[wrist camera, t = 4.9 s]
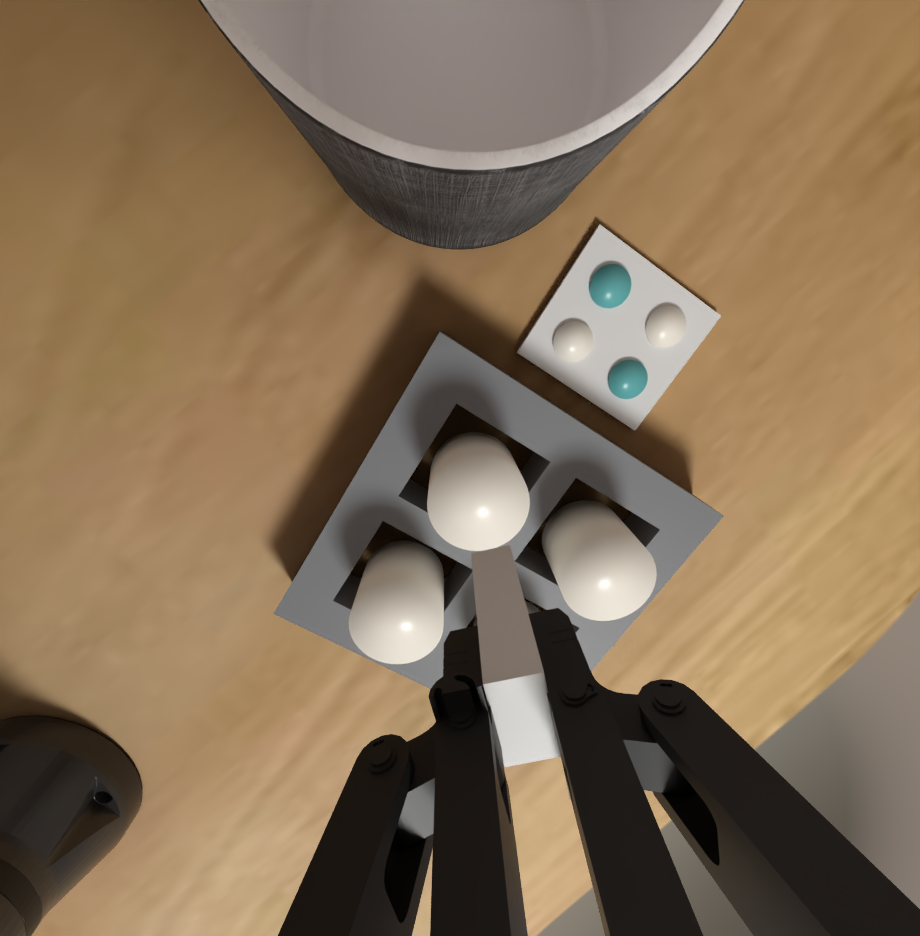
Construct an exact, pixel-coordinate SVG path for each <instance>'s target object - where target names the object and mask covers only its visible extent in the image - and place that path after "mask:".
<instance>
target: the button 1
mask: <svg viewBox="0 0 920 936" xmlns="http://www.w3.org/2000/svg"><path fill="white" fill-rule="evenodd" d="M443 627H444V571H443V567H442V564H441V562H440V560H439V558H438V557H437V556H436V554H435V553H434V552H433V551H431V550H430V549H429V548H427V547H426V546H424V545H422V544H420V543H417V542H413V541H405V540H403V541H394V542H390V543H387V544H385V545H383V546H381V547H380V548H378V549H377V550H376V551H375V552H374V553H373V554H372V555H371V556H370V558H369V560H368V561H367V564H366V567H365V570H364V573H363V576H362V579H361V582H360V585H359V588H358V591H357V594H356V597H355V600H354V603H353V606H352V609H351V612H350V616H349V631H350V635H351V637H352V639H353V641H354V643H355V644H356V646H357V647H358V648H359V649H360V650H361V651H362V652H363V653H365V654H366V655H367V656H369V657H371V658H372V659H375V660H377V661H380V662H383V663H388V664H406V663H411V662H414V661H417V660H419V659H421V658H423V657H425V656H426V655H428V654H429V653H430V652H431V651H432V650H434V648H435V647H436V646H437V644H438V643H439V641H440V639H441V637H442V633H443Z"/></svg>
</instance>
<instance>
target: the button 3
mask: <svg viewBox="0 0 920 936" xmlns="http://www.w3.org/2000/svg"><path fill="white" fill-rule="evenodd" d="M542 547H543V551H544V553H545V555H546V558H547V560H548V562H549V565H550V567H551V569H552V572H553V574H554V576H555V579H556V581H557V583H558V586H559V588H560V590H561V593H562V595H563V597H564V600H565V601H566V603H567V605H568V606H569V607H570V608H571V609H572V610H573V611H574V612H575V613H577V614H579V615H580V616H582V617H584V618H587V619H590V620H596V621H610V620H616V619H620V618H622V617H625V616H627V615H629V614H631V613H633V612H634V611H636V610H637V609H638V608H640V607H641V606H642V605H643V604H644V603H645V602H646V601H647V599H648V598H649V597H650V595H651V593H652V591H653V589H654V586H655V583H656V576H657V572H656V565H655V562H654V559H653V557H652V555H651V554H650V552H649V551H648V550H647V549H646V548H645V547H644V545H643V544H642V543H641V542H640V541H639V540H638V539H637V538H636V536H635V535H634V534H633V533H632V532H631V531H630V530H629V528H628V527H627V526H626V525H625V524H624V523H623V522H622V521H621V519H620V518H619V517H618V516H617V515H616V514H615V513H614V512H613V511H612V510H611V509H610V508H609V507H607V506H606V505H604V504H602V503H599V502H596V501H591V500H580V501H575V502H571V503H569V504H566V505H564V506H563V507H561V508H559V509H558V510H557V511H556V512H554V513H553V514H552V516H551V517H550V518H549V519H548V521H547V523H546V525H545V527H544V530H543V533H542Z"/></svg>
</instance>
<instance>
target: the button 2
mask: <svg viewBox="0 0 920 936" xmlns="http://www.w3.org/2000/svg"><path fill="white" fill-rule="evenodd" d="M529 507H530V498H529V492H528V488H527V486H526V483H525V481H524V479H523V477H522V475H521V473H520V471H519V469H518V467H517V465H516V463H515V461H514V459H513V457H512V455H511V453H510V451H509V450H508V448H507V447H506V446H505V445H504V444H503V443H502V442H501V441H500V440H498V439H497V438H495V437H493V436H491V435H489V434H486V433H481V432H466V433H461V434H458V435H456V436H454V437H452V438H450V439H448V440H447V441H446V442H445V443H443V445H442V446H441V447H440V448H439V449H438V450H437V452H436V454H435V456H434V458H433V460H432V464H431V470H430V480H429V489H428V499H427V510H428V515H429V519H430V521H431V524H432V525H433V527H434V529H435V530H436V532H437V533H438V534H439V535H440V536H441V537H442V538H443V539H444V540H445V541H447V542H448V543H450V544H451V545H453V546H456V547H458V548H461V549H464V550H469V551H483V550H488V549H493V548H497V547H499V546H501V545H503V544H505V543H507V542H508V541H510V540H511V539H512V538H513V537H514V536H515V535H516V534H517V533H518V532H519V531H520V530H521V528H522V527H523V525H524V523H525V521H526V519H527V516H528V513H529Z"/></svg>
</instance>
